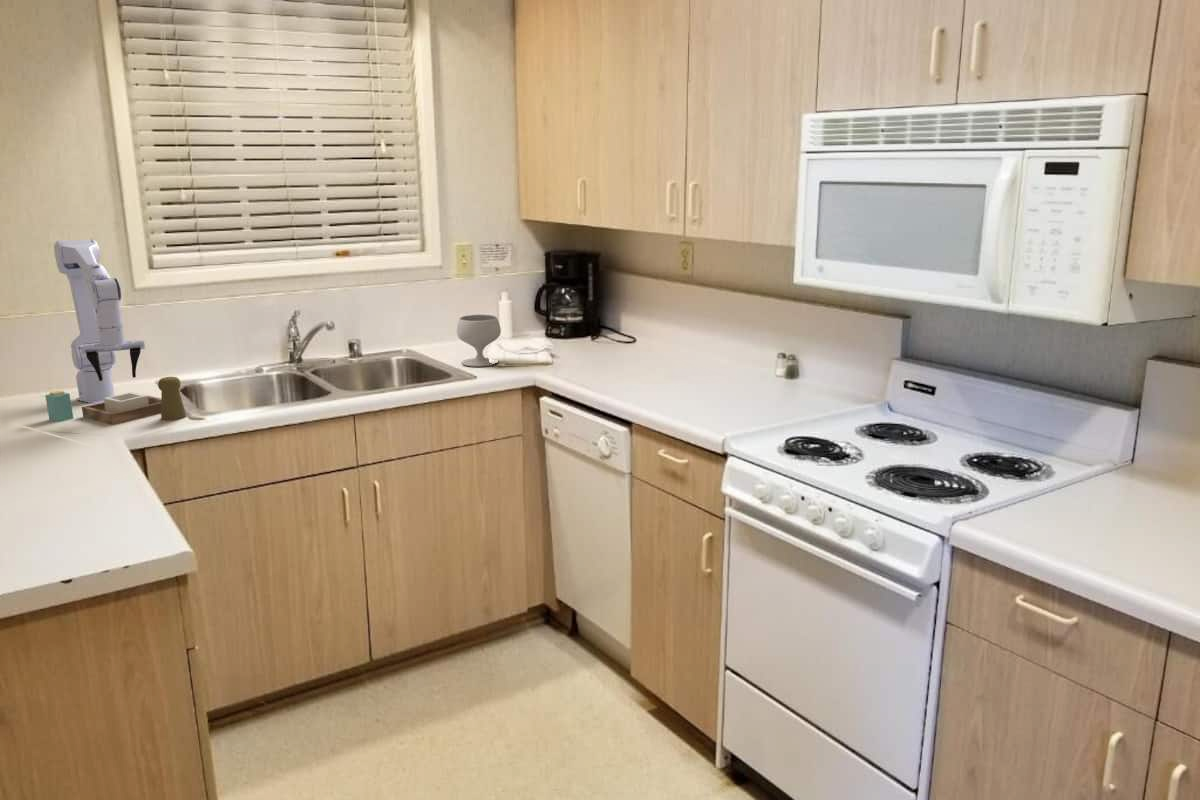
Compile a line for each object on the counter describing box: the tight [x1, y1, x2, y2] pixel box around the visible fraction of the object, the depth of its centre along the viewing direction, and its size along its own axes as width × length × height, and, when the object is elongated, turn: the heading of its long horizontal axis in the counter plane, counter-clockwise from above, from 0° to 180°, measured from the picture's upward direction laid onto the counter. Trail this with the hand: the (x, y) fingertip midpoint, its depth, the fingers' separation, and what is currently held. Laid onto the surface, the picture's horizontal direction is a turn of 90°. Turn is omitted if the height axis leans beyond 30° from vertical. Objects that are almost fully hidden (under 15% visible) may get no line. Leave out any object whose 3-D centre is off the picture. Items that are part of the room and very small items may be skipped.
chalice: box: [456, 314, 502, 368], centre depth 296 cm, size 14×14×15 cm
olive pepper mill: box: [157, 376, 187, 422], centre depth 236 cm, size 6×6×11 cm
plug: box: [44, 390, 74, 423], centre depth 237 cm, size 4×4×8 cm
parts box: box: [81, 394, 161, 426], centre depth 242 cm, size 14×16×3 cm
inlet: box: [104, 391, 149, 413], centre depth 241 cm, size 8×8×4 cm
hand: (117, 378), depth 238 cm, fingers open, 7 cm apart
